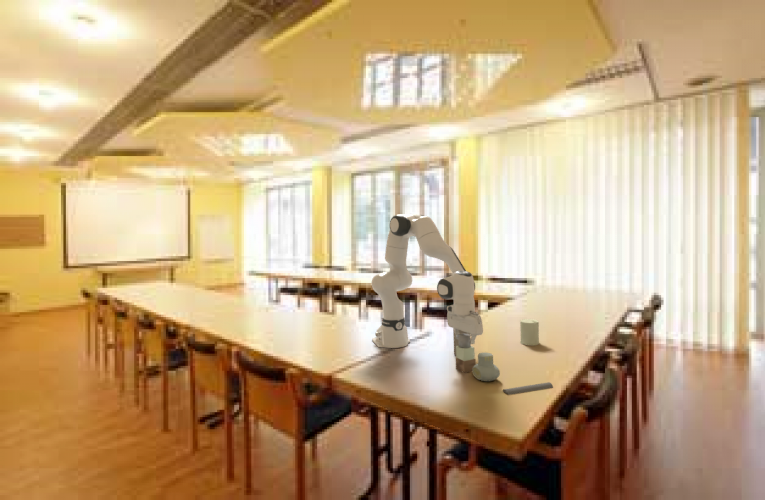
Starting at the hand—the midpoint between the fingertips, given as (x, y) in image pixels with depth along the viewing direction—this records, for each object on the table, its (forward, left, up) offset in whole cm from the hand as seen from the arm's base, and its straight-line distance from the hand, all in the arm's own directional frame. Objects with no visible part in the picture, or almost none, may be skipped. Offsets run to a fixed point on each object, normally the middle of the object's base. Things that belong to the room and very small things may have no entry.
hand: (464, 341), depth 176 cm
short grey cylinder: (0, 0, -2) cm, 2 cm away
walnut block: (0, 0, -12) cm, 12 cm away
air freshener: (+13, 0, -13) cm, 18 cm away
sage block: (0, 0, -7) cm, 7 cm away
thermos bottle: (-18, +12, -12) cm, 25 cm away
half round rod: (+29, +6, -13) cm, 33 cm away
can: (-14, +52, -12) cm, 55 cm away
